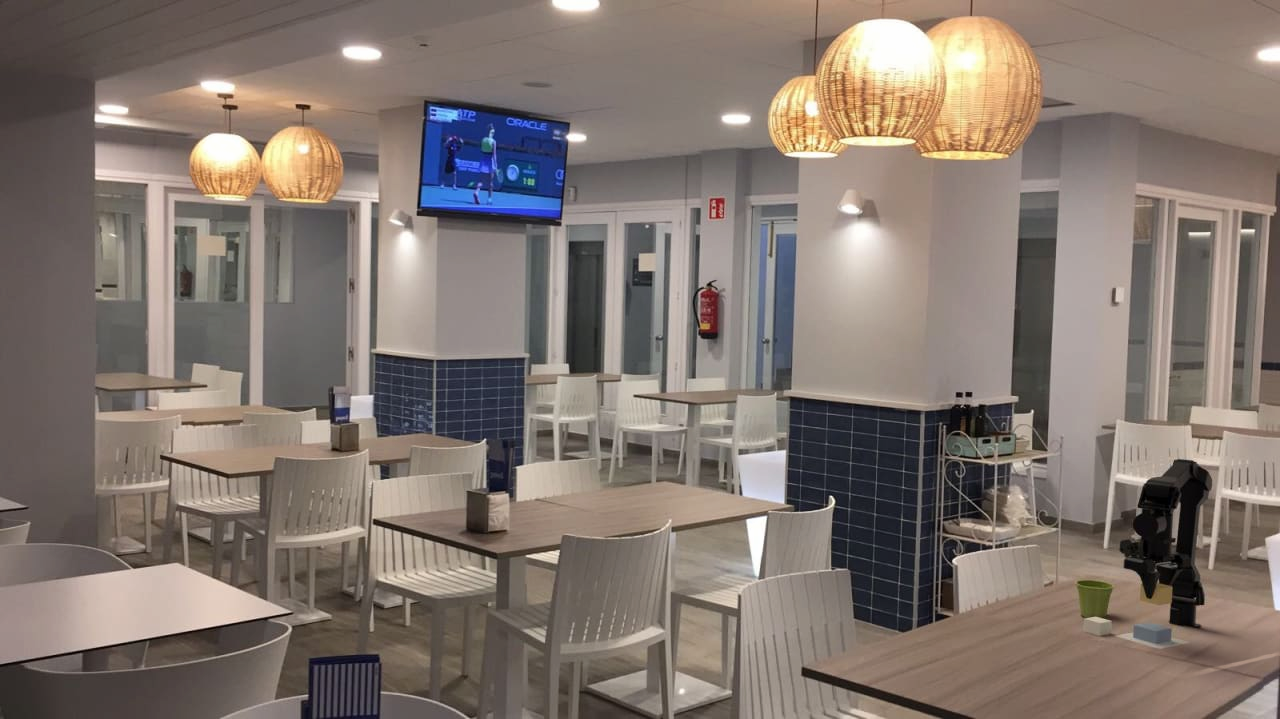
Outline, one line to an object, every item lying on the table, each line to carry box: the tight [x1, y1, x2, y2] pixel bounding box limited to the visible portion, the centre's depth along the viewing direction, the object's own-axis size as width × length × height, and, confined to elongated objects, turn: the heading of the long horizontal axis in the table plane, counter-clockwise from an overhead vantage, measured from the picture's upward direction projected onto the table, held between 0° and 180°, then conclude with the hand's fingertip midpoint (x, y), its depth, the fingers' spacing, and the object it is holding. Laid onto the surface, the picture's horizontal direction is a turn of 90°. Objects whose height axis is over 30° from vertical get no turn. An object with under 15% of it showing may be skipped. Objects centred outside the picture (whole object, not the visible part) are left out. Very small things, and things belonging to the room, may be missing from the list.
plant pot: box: [1075, 579, 1115, 619], centre depth 296 cm, size 9×9×9 cm
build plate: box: [1115, 631, 1191, 650], centre depth 274 cm, size 12×12×1 cm
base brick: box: [1132, 621, 1173, 644], centre depth 274 cm, size 6×6×3 cm
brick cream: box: [1083, 617, 1113, 637], centre depth 278 cm, size 4×4×4 cm
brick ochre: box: [1139, 582, 1172, 606], centre depth 273 cm, size 5×5×4 cm
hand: (1155, 597), depth 273 cm, fingers closed on brick ochre, 5 cm apart
